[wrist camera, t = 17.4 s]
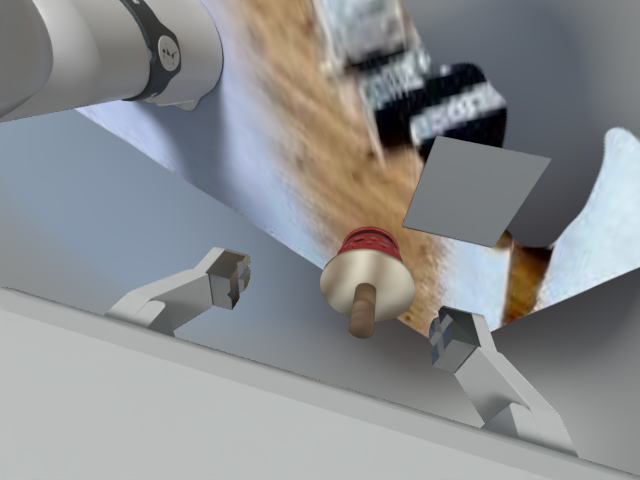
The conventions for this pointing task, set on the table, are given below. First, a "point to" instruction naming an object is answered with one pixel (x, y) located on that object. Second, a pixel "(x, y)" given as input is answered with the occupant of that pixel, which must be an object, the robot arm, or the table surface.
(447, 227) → the grey mat
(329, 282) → the birch lid
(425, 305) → the table surface
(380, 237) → the plant pot
